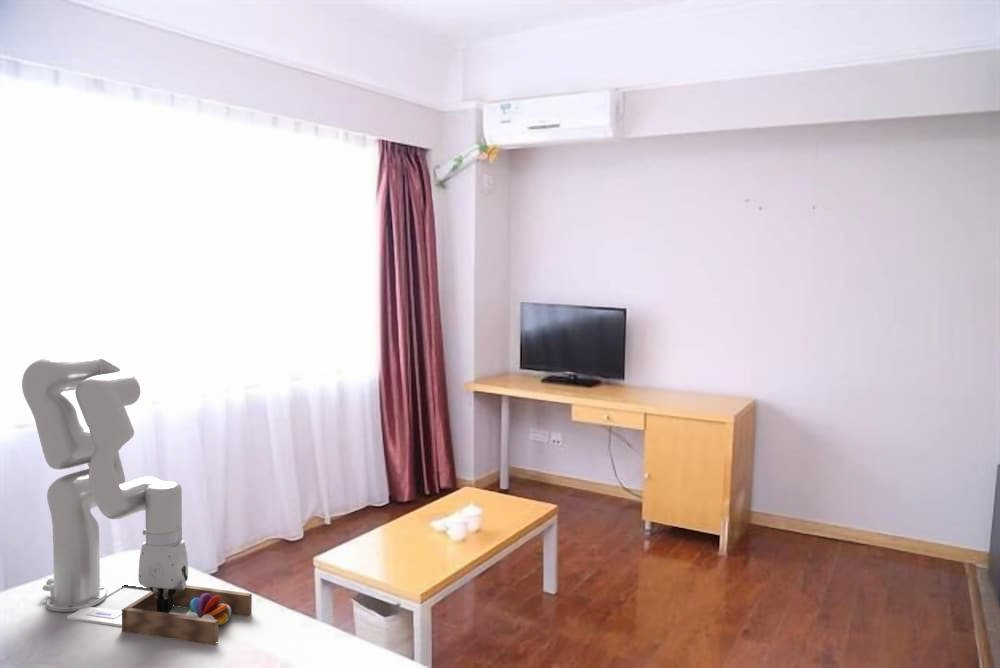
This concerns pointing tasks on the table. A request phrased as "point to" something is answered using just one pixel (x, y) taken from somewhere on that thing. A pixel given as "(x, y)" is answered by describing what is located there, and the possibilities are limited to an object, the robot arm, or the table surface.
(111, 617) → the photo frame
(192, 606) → the rainbow roller toy
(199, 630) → the u-shaped wooden frame
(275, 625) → the table surface
